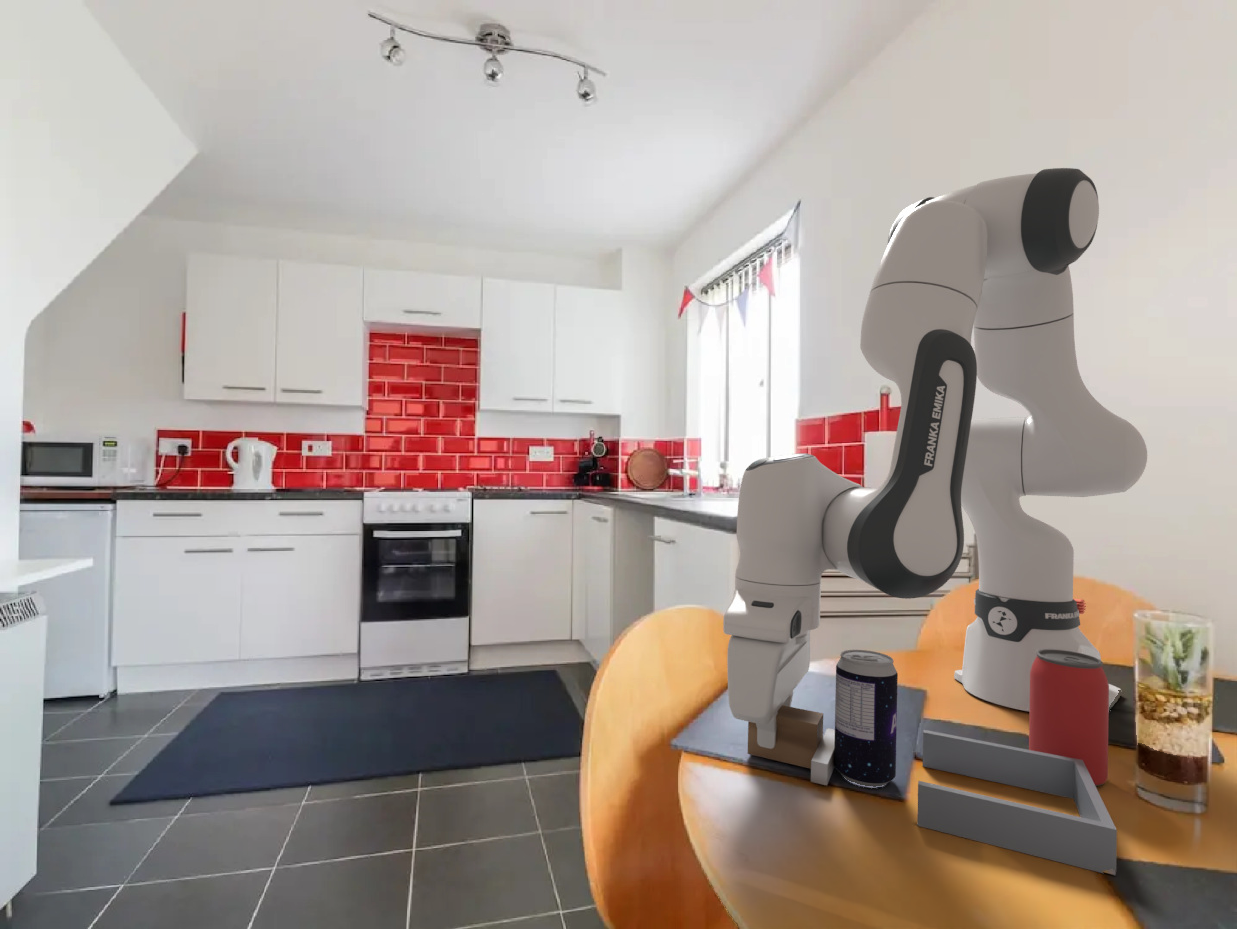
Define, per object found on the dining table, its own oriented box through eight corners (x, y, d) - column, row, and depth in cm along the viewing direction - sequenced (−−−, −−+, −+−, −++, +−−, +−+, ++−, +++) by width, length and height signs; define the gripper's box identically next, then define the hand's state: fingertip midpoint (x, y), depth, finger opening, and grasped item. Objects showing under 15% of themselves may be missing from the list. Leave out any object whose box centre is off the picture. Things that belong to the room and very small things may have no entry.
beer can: (1073, 793, 60) (1074, 667, 61) (1013, 762, 67) (1015, 649, 67) (1124, 786, 62) (1126, 664, 62) (1061, 757, 68) (1063, 646, 69)
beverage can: (901, 796, 59) (904, 667, 59) (838, 788, 60) (841, 662, 60) (888, 768, 64) (890, 651, 65) (830, 762, 66) (832, 646, 66)
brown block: (763, 732, 72) (764, 693, 72) (841, 749, 68) (842, 707, 68) (739, 763, 64) (740, 719, 64) (826, 785, 60) (828, 737, 60)
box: (922, 763, 66) (923, 729, 66) (1082, 797, 60) (1082, 760, 60) (917, 825, 54) (918, 784, 54) (1116, 876, 48) (1116, 829, 48)
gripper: (771, 588, 78) (769, 700, 77) (717, 620, 59) (713, 767, 59) (824, 594, 75) (822, 711, 74) (784, 629, 57) (780, 784, 56)
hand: (773, 736), depth 67 cm, fingers closed on brown block, 3 cm apart
